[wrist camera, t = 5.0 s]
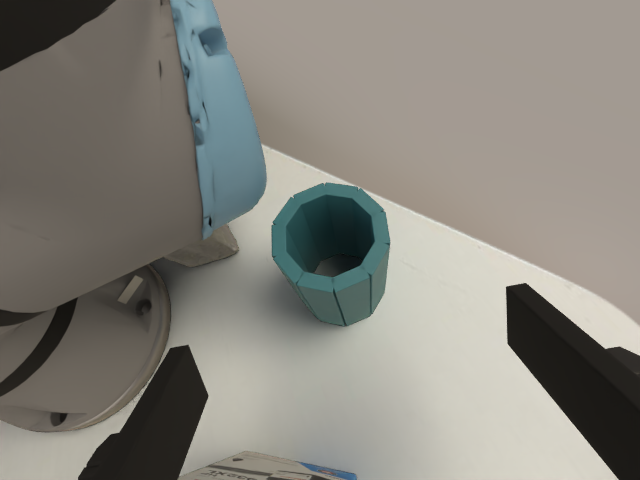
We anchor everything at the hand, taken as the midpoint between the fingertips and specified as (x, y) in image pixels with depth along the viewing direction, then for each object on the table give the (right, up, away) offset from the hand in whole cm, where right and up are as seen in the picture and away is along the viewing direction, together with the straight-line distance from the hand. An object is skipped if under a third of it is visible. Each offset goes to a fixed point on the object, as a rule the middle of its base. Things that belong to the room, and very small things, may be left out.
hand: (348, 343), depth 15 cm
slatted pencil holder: (+1, +1, +16) cm, 16 cm away
